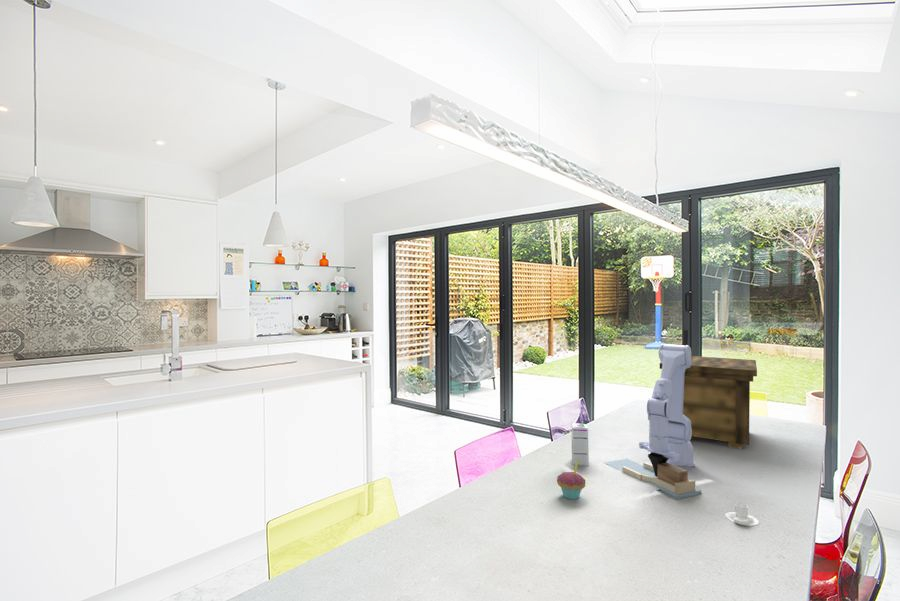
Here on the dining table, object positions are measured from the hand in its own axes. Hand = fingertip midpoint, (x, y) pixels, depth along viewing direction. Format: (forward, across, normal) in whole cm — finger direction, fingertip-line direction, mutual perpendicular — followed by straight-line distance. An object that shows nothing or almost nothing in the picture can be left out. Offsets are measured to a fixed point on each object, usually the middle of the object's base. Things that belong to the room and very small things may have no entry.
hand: (658, 476), depth 154 cm
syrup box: (+2, -23, -13) cm, 27 cm away
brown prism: (+1, +6, 0) cm, 6 cm away
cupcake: (+2, -3, -33) cm, 33 cm away
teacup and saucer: (+3, +26, -2) cm, 26 cm away
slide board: (+2, -4, 0) cm, 5 cm away
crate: (+2, -30, +63) cm, 70 cm away
